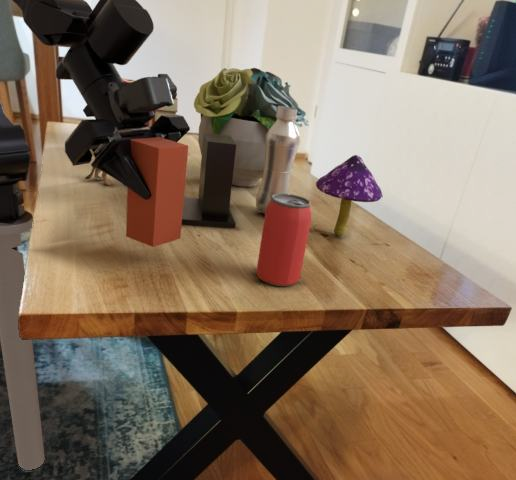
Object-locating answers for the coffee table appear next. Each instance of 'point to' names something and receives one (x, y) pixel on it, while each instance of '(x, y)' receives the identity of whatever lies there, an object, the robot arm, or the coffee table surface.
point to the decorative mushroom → (349, 187)
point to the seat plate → (213, 185)
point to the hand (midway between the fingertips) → (164, 194)
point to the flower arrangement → (244, 115)
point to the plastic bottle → (278, 156)
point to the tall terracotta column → (157, 191)
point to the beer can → (284, 239)
